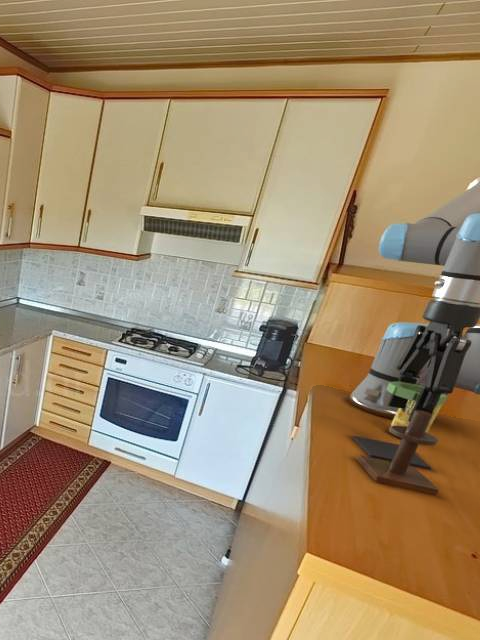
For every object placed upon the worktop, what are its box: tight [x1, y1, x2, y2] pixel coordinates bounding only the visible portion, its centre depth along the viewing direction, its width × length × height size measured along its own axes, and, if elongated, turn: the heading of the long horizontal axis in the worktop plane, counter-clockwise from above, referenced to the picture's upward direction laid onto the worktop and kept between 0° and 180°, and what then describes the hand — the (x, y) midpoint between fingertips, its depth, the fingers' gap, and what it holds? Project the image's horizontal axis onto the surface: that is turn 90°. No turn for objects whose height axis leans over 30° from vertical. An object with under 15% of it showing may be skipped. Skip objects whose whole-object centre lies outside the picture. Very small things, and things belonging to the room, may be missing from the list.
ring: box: [386, 381, 448, 405], centre depth 96 cm, size 8×8×2 cm
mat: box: [352, 435, 432, 471], centre depth 101 cm, size 10×10×1 cm
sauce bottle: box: [388, 363, 449, 439], centre depth 107 cm, size 7×6×20 cm
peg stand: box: [356, 410, 440, 496], centre depth 88 cm, size 9×9×13 cm
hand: (406, 414), depth 98 cm, fingers closed on ring, 8 cm apart
